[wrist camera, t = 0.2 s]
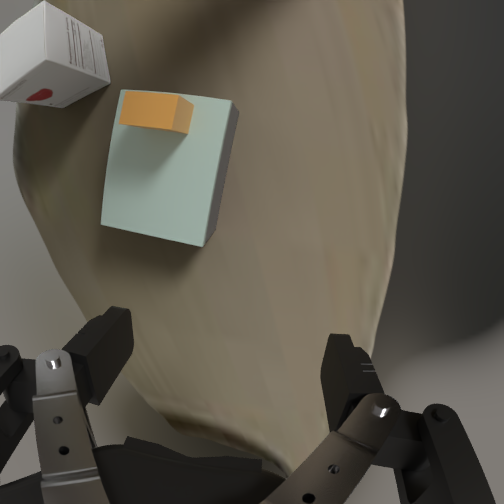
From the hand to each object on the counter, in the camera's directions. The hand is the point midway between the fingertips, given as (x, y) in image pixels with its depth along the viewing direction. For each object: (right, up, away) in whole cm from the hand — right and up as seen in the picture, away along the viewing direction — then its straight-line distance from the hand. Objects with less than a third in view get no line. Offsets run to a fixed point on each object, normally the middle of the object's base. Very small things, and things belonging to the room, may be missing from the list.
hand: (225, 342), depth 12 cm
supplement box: (-23, +29, +22) cm, 44 cm away
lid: (-8, +13, +20) cm, 25 cm away
